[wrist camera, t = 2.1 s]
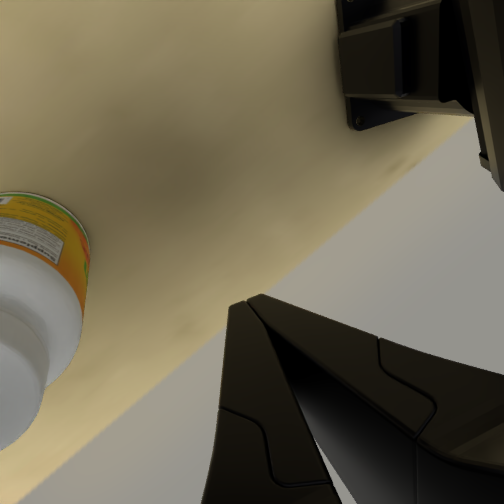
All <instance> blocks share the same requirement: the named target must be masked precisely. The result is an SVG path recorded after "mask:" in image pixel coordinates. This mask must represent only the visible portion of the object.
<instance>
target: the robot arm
mask: <svg viewBox="0 0 504 504" xmlns="http://www.w3.org/2000/svg"><path fill="white" fill-rule="evenodd" d="M336 1H337V12H338V22H339V33H340V37H339V39H338V44H339V54H340V65H341V75H342V86H343V93H344V94H345V97H346V108H347V119H348V125H349V127H350V129H352V130H355V131H362V130H365V129H369V128H372V127H375V126H378V125H381V124H385V123H388V122H391V121H394V120H398V119H401V118H404V117H407V116H410V115H414V114H417V113H430V114H444V115H459V116H473V117H474V118H475V123H476V128H477V133H478V138H479V143H480V148H481V152H480V153H479V158H480V163H481V166H482V167H484V168H485V169H487V170H489V171H490V172H491V174H492V178H493V180H494V181H495V182H496V184H497V185H498V186H499V188H500V189H501V191H503V192H504V0H350V2H348V1H347V0H336ZM358 117H360V123H359V124H358V125H357V123H356V120H357V118H358ZM313 437H314V438H313ZM314 439H315V440H316V442H317V443H318V445H319V446H320V448H321V449H322V451H323V452H324V454H325V455H326V457H327V458H328V460H329V461H330V463H331V465H332V466H333V468H334V469H335V471H336V472H337V474H338V475H339V477H340V478H341V480H342V481H343V483H344V484H345V486H346V487H347V489H348V490H349V492H350V494H351V495H352V497H353V498H354V500H355V501H356V503H357V504H504V375H502V374H499V373H495V372H491V371H487V370H484V369H480V368H477V367H473V366H469V365H466V364H462V363H458V362H455V361H451V360H448V359H444V358H441V357H438V356H434V355H431V354H427V353H424V352H421V351H418V350H415V349H412V348H409V347H406V346H403V345H400V344H398V343H395V342H392V341H389V340H387V339H384V338H379V339H378V336H375V335H373V334H370V333H367V332H365V331H362V330H359V329H357V328H354V327H351V326H348V325H346V324H343V323H340V322H338V321H335V320H332V319H329V318H327V317H324V316H321V315H318V314H316V313H313V312H311V311H308V310H305V309H302V308H300V307H297V306H294V305H292V304H289V303H286V302H283V301H281V300H278V299H275V298H273V297H270V296H267V295H265V294H259V295H256V296H253V297H251V298H248V299H247V301H241V302H238V303H235V304H233V305H231V306H229V309H228V319H227V329H226V339H225V348H224V358H223V368H222V378H221V388H220V397H219V410H218V415H217V424H216V432H215V439H214V446H213V452H212V457H211V462H210V467H209V471H208V476H207V480H206V484H205V488H204V492H203V496H202V500H201V504H342V502H341V500H340V498H339V496H338V493H337V491H336V489H335V487H334V486H333V482H332V479H331V477H330V475H329V472H328V470H327V468H326V465H325V463H324V461H323V458H322V456H321V454H320V452H319V449H318V447H317V445H316V442H315V440H314Z"/></svg>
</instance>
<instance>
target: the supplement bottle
mask: <svg viewBox="0 0 504 504" xmlns="http://www.w3.org/2000/svg"><path fill="white" fill-rule="evenodd" d="M89 264H90V246H89V241H88V238H87V235H86V232H85V230H84V229H83V227H82V225H81V224H80V222H79V221H78V220H77V219H76V217H75V216H74V215H73V214H72V213H70V212H69V211H68V210H67V209H66V208H64V207H63V206H61V205H60V204H58V203H56V202H54V201H52V200H50V199H48V198H45V197H43V196H40V195H36V194H31V193H23V192H7V193H0V451H1V450H3V449H4V448H6V447H7V446H9V445H10V444H12V443H13V442H15V441H16V440H17V439H18V438H19V437H20V436H21V435H22V434H23V433H24V432H25V431H26V430H27V429H28V428H29V426H30V425H31V424H32V422H33V421H34V419H35V417H36V416H37V413H38V411H39V408H40V405H41V402H42V398H43V394H44V390H45V388H46V387H47V386H49V385H50V384H51V383H52V382H53V381H55V380H56V379H57V378H58V377H59V376H60V375H61V373H62V372H63V371H64V370H65V369H66V367H67V366H68V365H69V363H70V362H71V360H72V358H73V356H74V354H75V352H76V350H77V347H78V344H79V340H80V336H81V331H82V324H83V315H84V307H85V299H86V291H87V282H88V273H89Z"/></svg>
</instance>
